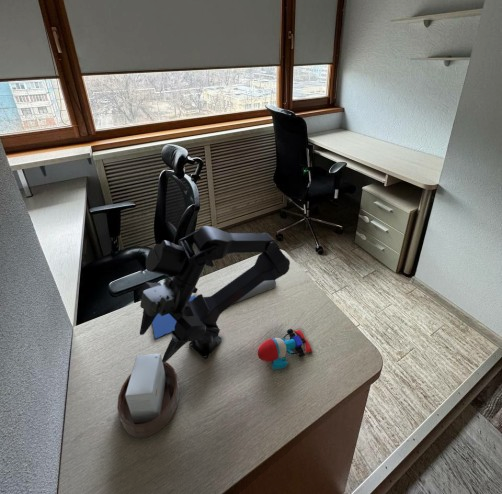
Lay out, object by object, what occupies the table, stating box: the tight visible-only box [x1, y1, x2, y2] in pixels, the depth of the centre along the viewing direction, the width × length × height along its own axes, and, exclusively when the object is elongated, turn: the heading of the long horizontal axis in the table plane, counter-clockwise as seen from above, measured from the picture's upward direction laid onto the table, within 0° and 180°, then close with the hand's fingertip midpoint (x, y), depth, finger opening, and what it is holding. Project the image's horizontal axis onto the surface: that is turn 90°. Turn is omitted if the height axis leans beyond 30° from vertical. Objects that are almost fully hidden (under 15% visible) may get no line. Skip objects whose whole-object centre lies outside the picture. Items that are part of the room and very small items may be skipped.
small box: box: [125, 353, 166, 423], centre depth 60 cm, size 8×6×10 cm
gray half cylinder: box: [234, 280, 277, 304], centre depth 89 cm, size 4×20×2 cm, turn 115°
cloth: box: [151, 294, 196, 340], centre depth 82 cm, size 14×9×1 cm, turn 117°
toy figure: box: [257, 328, 313, 371], centre depth 71 cm, size 8×5×15 cm
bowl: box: [117, 361, 180, 438], centre depth 61 cm, size 13×13×4 cm
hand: (152, 347), depth 59 cm, fingers open, 9 cm apart
